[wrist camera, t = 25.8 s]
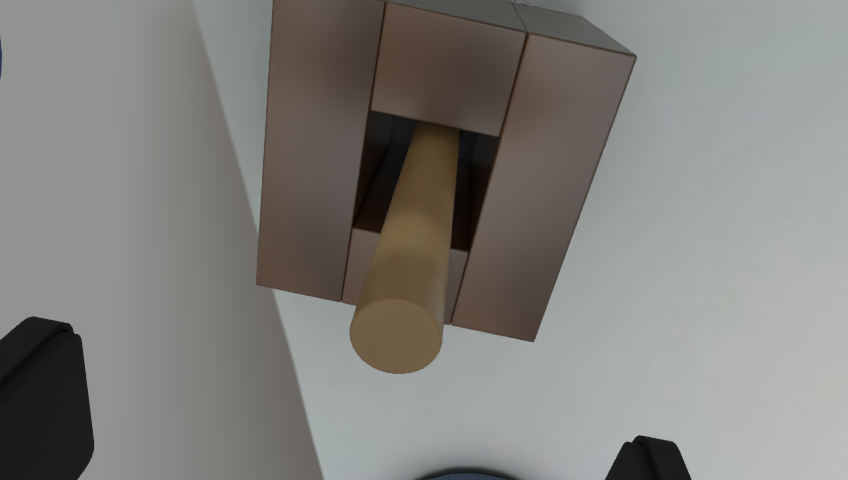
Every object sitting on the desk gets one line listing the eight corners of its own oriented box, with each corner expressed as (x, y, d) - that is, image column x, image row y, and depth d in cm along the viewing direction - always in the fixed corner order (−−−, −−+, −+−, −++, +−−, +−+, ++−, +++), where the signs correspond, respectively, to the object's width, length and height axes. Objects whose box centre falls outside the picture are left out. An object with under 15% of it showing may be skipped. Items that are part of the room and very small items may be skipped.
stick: (427, 110, 29) (350, 371, 11) (428, 74, 28) (347, 296, 11) (462, 111, 29) (440, 377, 11) (464, 75, 28) (443, 302, 10)
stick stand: (317, 189, 32) (255, 285, 23) (342, -36, 26) (273, -24, 17) (518, 231, 32) (534, 343, 23) (584, 17, 26) (638, 55, 18)
